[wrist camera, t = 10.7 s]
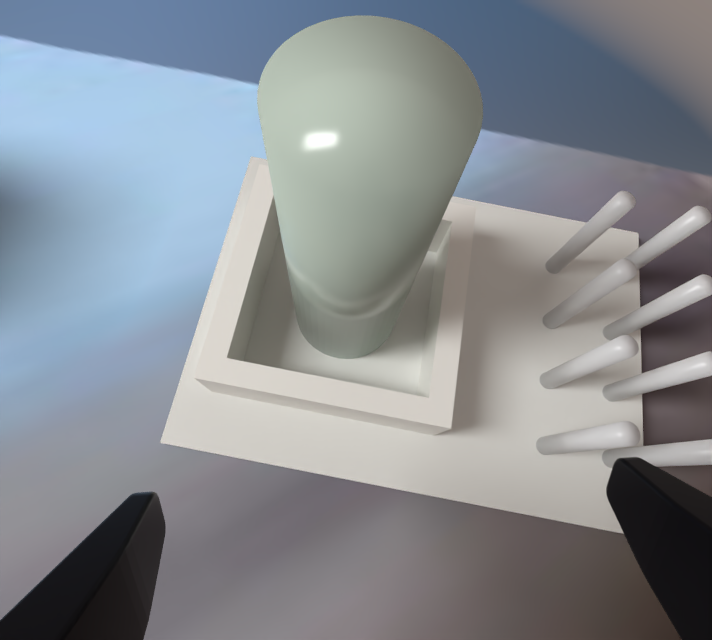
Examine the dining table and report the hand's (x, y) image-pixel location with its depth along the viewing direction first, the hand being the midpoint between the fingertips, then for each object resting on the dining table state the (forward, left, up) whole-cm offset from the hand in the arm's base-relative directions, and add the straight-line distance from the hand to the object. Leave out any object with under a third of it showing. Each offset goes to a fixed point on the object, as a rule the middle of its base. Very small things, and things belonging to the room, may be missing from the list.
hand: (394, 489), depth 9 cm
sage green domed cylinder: (+5, -6, -11) cm, 14 cm away
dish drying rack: (+2, -8, -12) cm, 14 cm away
